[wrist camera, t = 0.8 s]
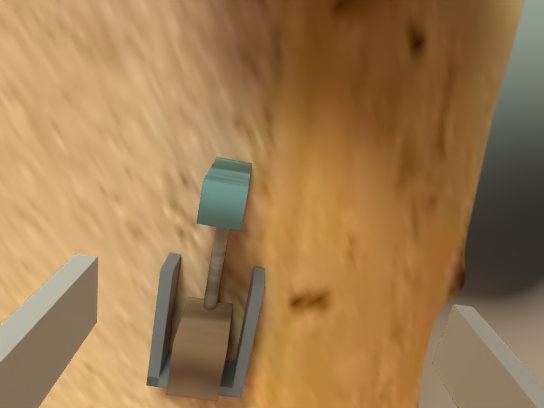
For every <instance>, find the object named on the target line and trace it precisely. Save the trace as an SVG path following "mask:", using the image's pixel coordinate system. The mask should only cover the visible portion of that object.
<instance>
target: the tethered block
mask: <svg viewBox="0 0 544 408" xmlns="http://www.w3.org/2000/svg"><path fill="white" fill-rule="evenodd" d="M251 165H252V164H250V163H245V162H240V161H234V160H229V159H224V158H218V157H217V159H216V160H215V162H214V164H213V165H212V167H211V168H210V170H209V172H208V173H207V175H206V176H205V178H204V180H203V183H202V190H201V197H200V204H199V211H198V218H197V224H203V225H209V226H215V227H216V230H215V237H214V243H213V249H212V255H211V261H210V267H209V274H208V280H207V286H206V292H205V298H204V299H197V298H191V297H189V298H188V301H187V304H186V307H185V310H184V313H183V316H182V319H181V322H180V325H179V327H178V330H177V333H176V336H175V339H174V342H173V348H172V355H171V362H170V369H169V377H168V384H167V391H166V395H173V396H180V397H188V398H195V399H203V400H210V401H217V400H218V395H219V390H220V384H221V379H222V374H223V368H224V363H225V358H226V353H227V346H228V338H229V331H230V323H231V315H232V308H233V304H229V303H223V302H217V299H218V293H219V287H220V281H221V276H222V270H223V264H224V258H225V253H226V247H227V241H228V235H229V230H230V229H232V230H238V231H241V227H242V222H243V216H244V211H245V205H246V200H247V194H248V189H249V181H250V173H251Z"/></svg>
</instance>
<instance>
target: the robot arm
mask: <svg viewBox="0 0 544 408" xmlns="http://www.w3.org/2000/svg"><path fill="white" fill-rule="evenodd" d="M97 287H98V256H91V255H84V254H75V255H74V256H73V257H72V258H71V259H70V260H69V261H67V262H66V263H65V264H64V265H63V266H62V267H61V268H60V269H59V270H58V271H57V272H56V273H55V274H54V275H53V276H52V277H50V278H49V279H48V280H47V281H46V282H45V283H44V284H43V285H42V286H41V287H40V288H39V289H38V290H37V291H36V292H35V293H34V294H32V295H31V296H30V297H29V298H28V299H27V300H26V301H25V302H24V303H23V304H22V305H21V306H20V307H19V308H18V309H17V310H16V311H14V312H13V313H12V314H11V315H10V316H9V317H8V318H7V319H6V320H5V321H4V322H3V323H2V324H1V325H0V408H38V407H39V406H40V404H41V403H42V402H43V400H44V399H45V397H46V396H47V394H48V393H49V391H50V390H51V388H52V387H53V385H54V384H55V382H56V381H57V380H58V378H59V377H60V375H61V374H62V372H63V371H64V369H65V368H66V366H67V365H68V363H69V362H70V361H71V359H72V358H73V356H74V355H75V353H76V352H77V350H78V349H79V347H80V346H81V344H82V343H83V341H84V340H85V339H86V337H87V336H88V334H89V333H90V331H91V330H92V328H93V327H94V325H95V324H96V322H97ZM432 364H433V366H434V367H435V369H436V371H437V372H438V374H439V376H440V378H441V380H442V381H443V383H444V385H445V387H446V388H447V390H448V392H449V394H450V395H451V397H452V399H453V401H454V402H455V404H456V406H457V408H544V387H543V385H542V384H541V383H540V382H539V381H538V380H537V379H536V378H535V376H534V375H533V374H532V373H531V372H530V371H529V370H528V369H527V368H526V366H525V365H524V364H523V363H522V362H521V361H520V360H519V358H518V357H517V356H516V355H515V354H514V353H513V352H512V351H511V349H510V348H509V347H508V346H507V345H506V344H505V343H504V341H503V340H502V339H501V338H500V337H499V336H498V335H497V334H496V332H495V331H494V330H493V329H492V328H491V327H490V326H489V324H488V323H487V322H486V321H485V320H484V319H483V318H482V317H481V315H480V314H479V313H478V312H477V311H476V310H475V309H474V308H473V307H471V306H463V305H456V304H453V306H452V309H451V312H450V315H449V318H448V320H447V323H446V326H445V329H444V332H443V335H442V337H441V340H440V343H439V346H438V348H437V351H436V354H435V357H434V360H433V363H432Z"/></svg>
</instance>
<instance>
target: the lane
mask: <svg viewBox="0 0 544 408" xmlns="http://www.w3.org/2000/svg"><path fill="white" fill-rule="evenodd" d="M180 259H181V255H179V254H173V253H170V254H169V256H168V257H167V259H166V261H165V263H164V265H163V267H162V268H161V271H160V279H159V287H158V295H157V304H156V312H155V320H154V328H153V336H152V344H151V353H150V361H149V369H148V377H147V385H148V386H155V387H162V388H167V384H168V377H169V369H170V362H171V355H172V354H169V353H168V346H169V339H170V331H171V324H172V317H173V309H174V302H175V295H176V288H177V280H178V273H179V266H180ZM264 289H265V269H264V268H258V267H254V269H253V274H252V279H251V284H250V289H249V294H248V299H247V304H246V309H245V314H244V319H243V324H242V329H241V334H240V339H239V344H238V349H237V354H236V359H235V363H232V362H225V363H224V368H223V374H222V379H221V384H220V390H219V395H221V396H229V397H236V398H242V393H243V388H244V383H245V379H246V374H247V369H248V364H249V360H250V355H251V350H252V345H253V341H254V336H255V331H256V326H257V322H258V317H259V312H260V308H261V303H262V298H263V293H264Z"/></svg>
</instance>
